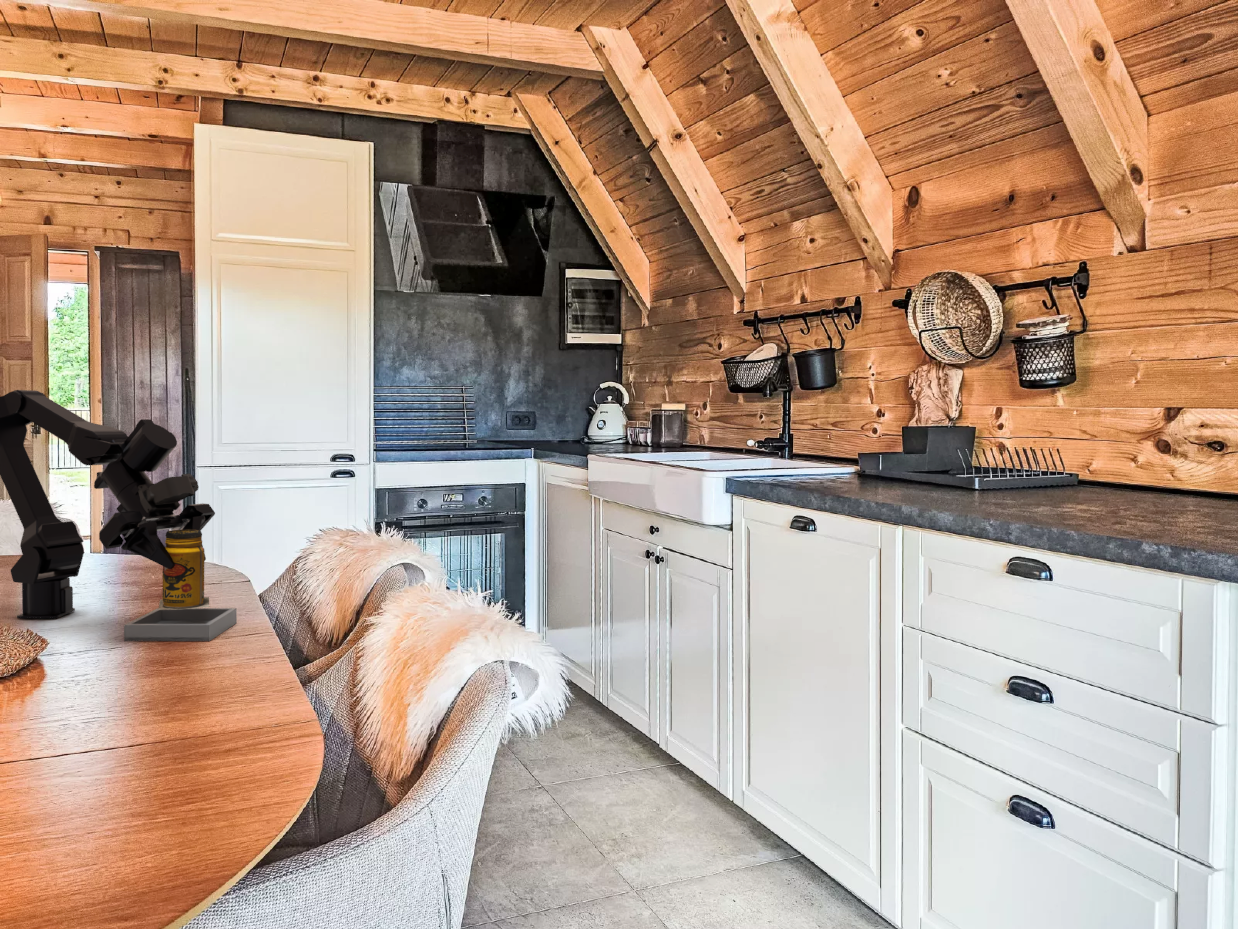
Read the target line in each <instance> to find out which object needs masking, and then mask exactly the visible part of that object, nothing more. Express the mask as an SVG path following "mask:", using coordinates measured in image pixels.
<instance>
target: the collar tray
mask: <svg viewBox="0 0 1238 929" xmlns="http://www.w3.org/2000/svg"><path fill="white" fill-rule="evenodd" d="M158 608H159V607H158ZM158 608H156V609H154V610H152V611H150V612H147V613H146V614H143V615H141V616H140V617H138V618H136V619H133V620H131V621H129V622H127V623H125V624H124V625H123V641H124V642H210V641H212V640H213V639H215V638H216V637H218V636H220V634H223V633H224V632H226V631H227V630H229V629H230V628H232V627H233V626H234V625H236V624H237V618H238V617H237V612H238V611H237V608H235V607H234V608H233V607H231V608H230V607H229V608H228V607H221V608H220V607H218V608H216V607H213V608H212V607H203V608H194V609H176V610H171V609H169V610H158Z"/></svg>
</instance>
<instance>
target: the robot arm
mask: <svg viewBox="0 0 1238 929" xmlns="http://www.w3.org/2000/svg"><path fill="white" fill-rule="evenodd" d="M30 424H35V425H37V427H39V428H41V429H43V430H45V431H46V432H48V433H49V434H51V435H52V436H55V437H56V438H58V439H60V440H61V441H63V442H64V443H65V444H66V445H67V449H68V452H69V453H70V454H71V455H72V456H73V457H74V458H75V459H76V460H78V461H79V462H80V463H81V464H82V465H85V466H104V465H106V466H105V468H104V469H103V470H102V471H98V472H96V478H95V480H94V483H93V487H94V489H95V490H99V489H109V490H110V491H111V493H112V495H113V496H114V497H115V499H116V500H117V501H118V503H119V505H118V506H117V507H116V511H118V512H114V513H113V514H112V516H111V517H110V518H109V519H108V520H107V522H106V523H105V525H103V527H101V529H100V530H99V534H98V540H99V541H100V542H101V544H102V545H103V548H105V550H107V549H114V548H121V550H123V551H129V552H131V553H133V554H135V555H136V554H137V555H139V556H141V557H143V558H145V559H147V560H150V561H152V562H154V563H155V564H157V565H160V566H162V567H163V566H164V567H166V568H168V569H172V568H173V567H174V566H175V563H174V562H173V560H172V558H171V556H170V554H169V553H168V551H167V550H166V548H165V547H166V546H165V544H163V542H162V541H161V538H159V535H158V531H165V530H170V531H172V530H187V529H189V530H200V531H201V532H202V530H203V529H204V528H205V526H207V524H208V523H209V522H210V520H211V519H213V517H214V516H215V515H216V512H215V511H214V509H213V508H212V506H211V505H210V503H203V502H202V503H195V504H187V505H186V506H185V507H184V509H183V510H181V512H180V513H179V514H176V513H175V514H174V511H176V510H178V509H179V508H180V506H181V504H180V501H183V500H185V499H186V498H189V497H193V496H195V494H196V492H197V491H198V490H199V484H198V480H197V479H196V478H195V477H194V476H193V475H192V474H191V473H182V474H181V475H178V476H168V477H166V478H163V479H161V480H160V481H158V482H155V483H153V482H152V480H151V479H150V477H149V476H148V475H147V473H146V472H149V473H151V472H155V471H157V470H158V468H159V467H160V466H161V465H162V464H163V462H164V461H165V460H166V458H168V456H170V454H171V453H172V452H173V451H174V449H175V448H176V447H177V444H178V441H177V438H176V436H175V434H173V432H172V431H169V430H168V429H166V428H165V427H163V426H161V425H159V424H156V423H155V422H154V421H153V420H152V419H151V418H150V419H146V418H145V419H144V418H143V419H141V418H140V419H139V421H138V422H137V424H135V427H134V429H133V430H132V432H130V433H129V435H128V434H126V432H125V431H122V430H120V429H117V428H115V427H111V426H107V425H104V424H97V423H94V422H91V421H88V420H86V419H84V418H83V417H81V416H80V415H78V414H76V413H74V412H73V411H71V410H69V409H68V408H66V407H64V406H62V405H61V404H59V403H57V402H56V401H54V400H52V399H50V398H48V397H47V396H46V394H44V392H41V391H39V390H33V389H31V390H28V389H27V390H26V389H15V390H13V391H9V392H8V393H6V394H4V395H2V396H0V478H1V480H2V482H3V485H4V487H5V489H6V491H7V494H8V496H9V499H10V500H11V503H12V505H13V507H14V509H15V512H16V514H17V516H18V518H19V520H20V523H21V525H22V527H23V532H22V537H21V540H20V545H19V547H20V550H21V556H20V557H19V558H18V560H17V561H16V562H15V563H14V564H13V566H12V567H11V569H10V574H11V578H12V582H13V583H18V584H21V596H22V597H21V599H22V602H21V603H22V608H21V610H22V613H20V614H17V615H16V619H59V618H61V617H63V616H65V615H69V614H71V613H73V612H75V611H76V608H74V600H73V598H74V592H73V591H74V590H73V589H74V587H73V586H72V585H70V584H71V583H70V582H71V581H70V580H71V579H70V578H74V577H78V575H79V572H80V570H81V565H82V562H83V557H84V555H85V550H84V546H83V542H84V540H83V538H82V537H81V535H80V534H79V532H78V529H77V525H76V523H74V522H73V521H72V520H69V521H61V520H60V519H59V518H58V517H57V516H56V513H55V512H54V509H53V507H52V505H51V503H50V500H49V498H48V496H47V494H46V492H45V490H44V488H43V486H42V483H41V480H40V479H39V477H38V474H37V472H36V470H35V467H34V465H33V463H32V462H31V459H30V456H29V454H28V452H27V450H26V447H25V441H26V437H27V434H28V427H27V426H28V425H30ZM122 536H123V537H122ZM123 542H124V543H123ZM201 545H202V547H203V546H204V545H203V543H202V544H201ZM203 548H204V547H203ZM206 559H207V558H206V554H205V555H204V562H205V561H206Z"/></svg>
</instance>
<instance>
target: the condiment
mask: <svg viewBox="0 0 1238 929" xmlns="http://www.w3.org/2000/svg"><path fill="white" fill-rule="evenodd" d="M202 536H203V533H202V530H201V531H200V530H189V529H187V530H168V531H167V532H165V541H164V542H165V543H164V545H165V546H164V547H165V548H166V550H167V551H168V553H169V554H170V556H171V558H172V560H173V562H174V563H175V566H174V567H173V568H172V569H168V568H166V567H164V566H162V572H161V574H162V596H161V598H162V599H160V600H159V603H158V610H169V609H171V610H176V609H194V608H210V596H205V561H204V555H205V556H206V552H205V548H204V547H202V545H203V538H202ZM201 544H202V545H201Z"/></svg>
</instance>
